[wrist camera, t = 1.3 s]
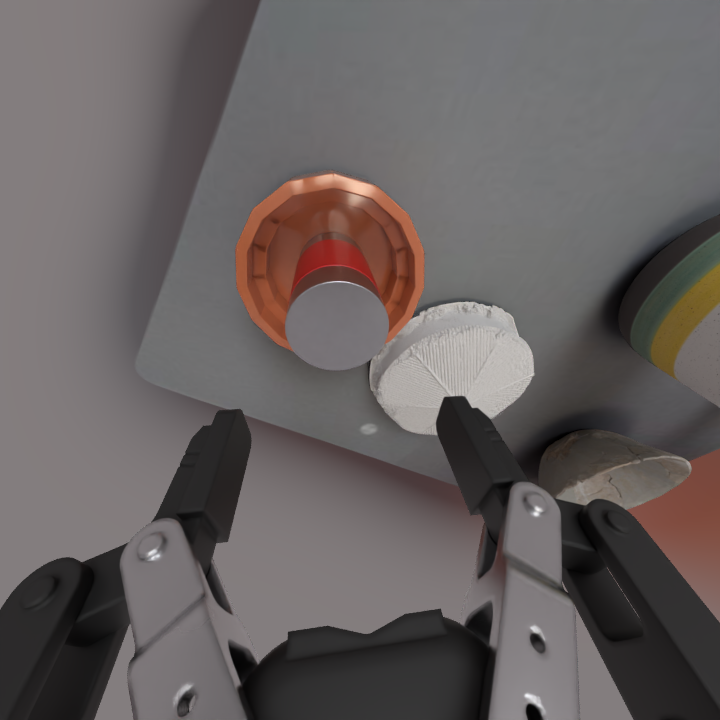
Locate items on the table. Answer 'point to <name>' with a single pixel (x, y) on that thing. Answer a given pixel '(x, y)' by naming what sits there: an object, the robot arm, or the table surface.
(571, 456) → the ceramic bowl
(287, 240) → the dish
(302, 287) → the can
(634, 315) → the vase
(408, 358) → the white round slab
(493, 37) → the table surface
